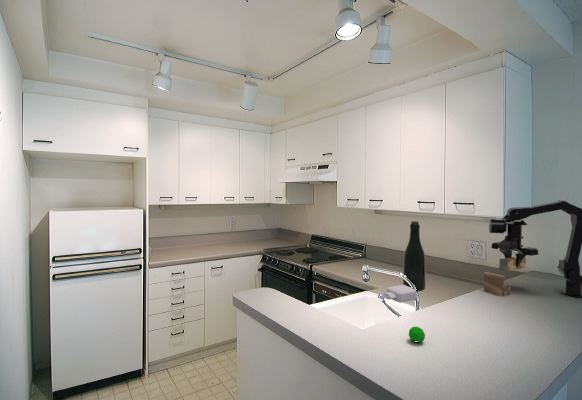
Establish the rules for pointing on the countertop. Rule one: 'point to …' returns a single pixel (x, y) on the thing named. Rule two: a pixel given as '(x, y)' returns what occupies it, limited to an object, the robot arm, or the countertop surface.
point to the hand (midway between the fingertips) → (513, 266)
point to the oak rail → (511, 264)
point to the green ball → (416, 334)
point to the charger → (400, 293)
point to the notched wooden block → (495, 284)
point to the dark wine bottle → (415, 259)
